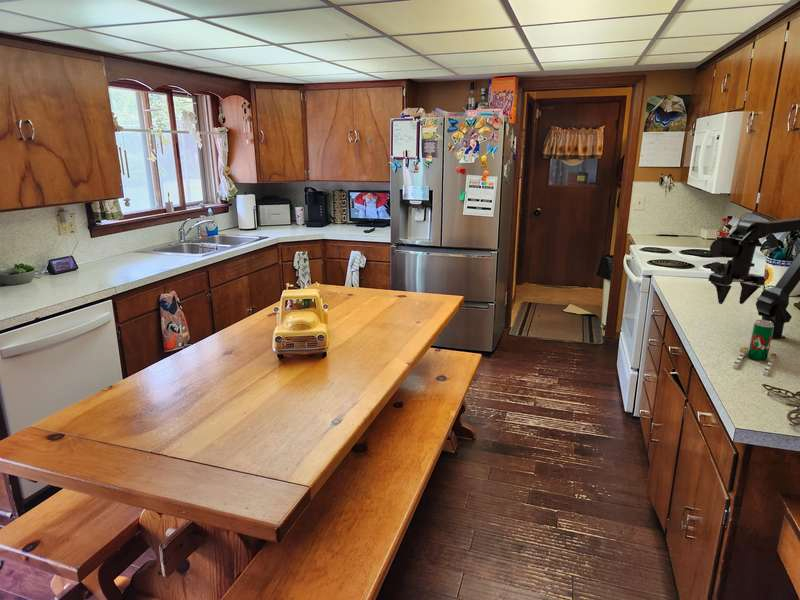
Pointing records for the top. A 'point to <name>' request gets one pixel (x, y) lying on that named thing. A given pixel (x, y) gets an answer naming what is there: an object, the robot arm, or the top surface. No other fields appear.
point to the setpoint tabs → (773, 356)
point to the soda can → (761, 340)
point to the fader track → (744, 356)
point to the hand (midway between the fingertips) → (730, 303)
